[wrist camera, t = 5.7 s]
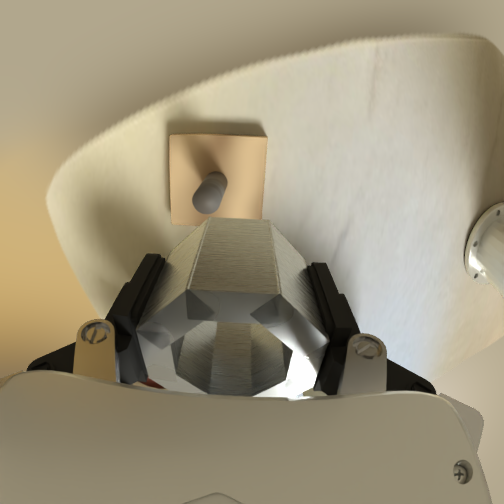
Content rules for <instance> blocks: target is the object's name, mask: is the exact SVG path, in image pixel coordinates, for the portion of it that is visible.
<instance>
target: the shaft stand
mask: <svg viewBox="0 0 504 504" xmlns="http://www.w3.org/2000/svg"><path fill="white" fill-rule="evenodd" d="M267 140H268V138H267V137H266V136H251V135H231V134H172V135H169V160H170V201H171V223H172V224H174V225H194V226H200V225H201V224H202V223H203V222H204V221H205V220H207V219H208V217H221V218H241V219H258V220H261V218H262V205H263V193H264V180H265V167H266V153H267Z"/></svg>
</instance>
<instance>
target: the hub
mask: <svg viewBox="0 0 504 504" xmlns="http://www.w3.org/2000/svg"><path fill="white" fill-rule="evenodd" d="M136 332H137V336H138V340H139V344H140V347H141V351H142V355H143V358H144V362H145V365H146V369H147V372H148V375H149V377H148V378H149V379H152V380H153V381H155V382H156V383H158V384H159V385H161V386H163V387H164V388H166V389H168V390H169V391H178V392H187V393H197V394H209V395H223V396H244V397H293V396H295V395H297V394H299V393H301V392H303V391H305V390H307V389H309V388H311V387H313V386H314V382H315V380H316V377H317V374H318V371H319V369H320V366H321V363H322V360H323V357H324V355H325V352H326V349H327V346H328V343H329V342H330V340H329V337H328V334H326V331H325V328H324V324H323V321H322V317H321V314H320V311H319V307H318V304H317V300H316V297H315V294H314V291H313V287H312V284H311V281H310V278H309V274H308V271H307V265H306V262H305V259H304V258H303V257H302V256H301V255H300V254H299V253H298V252H297V250H296V249H295V248H294V247H293V246H292V245H291V244H290V243H289V242H288V240H287V239H286V238H285V237H284V236H283V235H282V234H281V233H280V232H279V231H278V229H277V228H276V227H275V226H274V225H273V224H272V223H271V222H270V220H258V219H241V218H221V217H208V219H207V220H205V221H204V222H203V223H202V224H201V225H200V226H199V227H198V228H196V229H195V230H194V231H193V232H192V233H191V234H190V235H189V236H188V237H187V238H185V239H184V240H183V241H182V242H181V243H180V244H179V245H178V246H177V247H176V248H175V249H173V250H172V251H171V252H170V254H169V256H168V258H167V260H166V262H165V264H164V267H163V269H162V271H161V273H160V275H159V277H158V280H157V282H156V284H155V286H154V288H153V291H152V293H151V295H150V297H149V300H148V302H147V304H146V307H145V309H144V311H143V314H142V316H141V318H140V321H139V323H138V325H137V328H136Z"/></svg>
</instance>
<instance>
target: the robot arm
mask: <svg viewBox="0 0 504 504" xmlns="http://www.w3.org/2000/svg"><path fill="white" fill-rule="evenodd" d="M165 262H166V261H165V258H161V255H160V254H149V253H148V254H146V256H145V257H144V259H143V261H142V262H141V264H140V266H139V267H138V269H137V271H136V272H135V274H134V276H133V278H132V279H131V281H130V282H127V283H125V285H124V286H123V288H122V290H121V291H120V293H119V295H118V297H117V298H116V300H115V302H114V304H113V305H112V307H111V309H110V311H109V313H108V314H107V316H106V318H105V320H104V319H94V320H91V321H88V322H86V323H85V324H83V325H82V326H81V327H80V328H79V330H78V333H77V338H76V342H74V343H72V344H70V345H67V346H65V347H63V348H61V349H59V350H56V351H54V352H51V353H49V354H47V355H45V356H42V357H40V358H38V359H36V360H34V361H33V362H32V363H31V364H30V365H29V366H28V368H27V371H26V372H23V370H21V371H19V372H16V373H13V374H11V375H8V376H6V377H3V378H0V504H492V501H491V497H490V493H489V489H488V486H487V482H486V479H485V476H484V472H483V469H482V466H481V463H480V460H479V457H478V454H477V450H478V446H479V443H480V439H481V435H482V430H483V426H484V420H483V417H482V415H481V414H480V412H478V411H477V410H476V409H474V408H472V407H470V406H467V405H465V404H463V403H461V402H459V401H457V400H455V399H452V398H450V397H449V396H447V395H444V394H442V393H440V395H437V394H436V391H435V388H434V387H433V385H432V384H431V383H430V382H428V381H427V380H426V379H424V378H422V377H420V376H418V375H416V374H415V373H413V372H411V371H409V370H407V369H405V368H404V367H402V366H400V365H398V364H396V363H394V362H393V361H391V360H389V359H387V350H386V346H385V345H384V343H383V342H382V341H381V340H380V339H379V338H377V337H375V336H373V335H370V334H365V333H360V330H359V328H358V325H357V323H356V321H355V318H354V316H353V313H352V311H351V309H350V306H349V304H348V302H347V299H346V297H345V295H344V294H339V293H338V290H337V288H336V285H335V283H334V281H333V278H332V276H331V274H330V271H329V269H328V267H327V264H326V263H315V262H313V263H312V264H311V266H307V271H308V274H309V278H310V281H311V284H312V287H313V291H314V294H315V297H316V300H317V304H318V307H319V311H320V314H321V317H322V321H323V324H324V328H325V331H326V334H328V337H329V340H330V342H329V343H328V346H327V349H326V352H325V355H324V357H323V360H322V363H321V366H320V369H319V371H318V374H317V377H316V380H315V382H314V386H313V390H314V391H322V392H324V393H325V394H327V395H326V396H311V397H244V396H223V395H209V394H197V393H187V392H178V391H169V390H161V389H154V388H147V387H141V386H135V385H133V383H135V382H137V381H141V382H147V378H148V372H147V369H146V365H145V362H144V358H143V355H142V351H141V347H140V344H139V340H138V336H137V332H136V328H137V325H138V323H139V321H140V318H141V316H142V314H143V311H144V309H145V307H146V304H147V302H148V300H149V297H150V295H151V293H152V291H153V288H154V286H155V284H156V282H157V280H158V277H159V275H160V273H161V271H162V269H163V267H164V264H165ZM465 267H466V271H467V273H468V275H469V277H470V278H471V279H472V280H473V281H474V282H476V283H477V284H480V285H486V284H491V285H492V286H493V287H494V288H495V289H496V290H497V291H498V293H499V294H500V295H501V296H502V297H503V298H504V203H498V204H495V205H494V206H492V207H490V208H489V209H488V210H487V211H486V212H485V213H484V214H483V215H482V216H481V217H480V219H479V220H478V221H477V223H476V225H475V226H474V228H473V230H472V232H471V234H470V237H469V240H468V242H467V247H466V251H465Z"/></svg>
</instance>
